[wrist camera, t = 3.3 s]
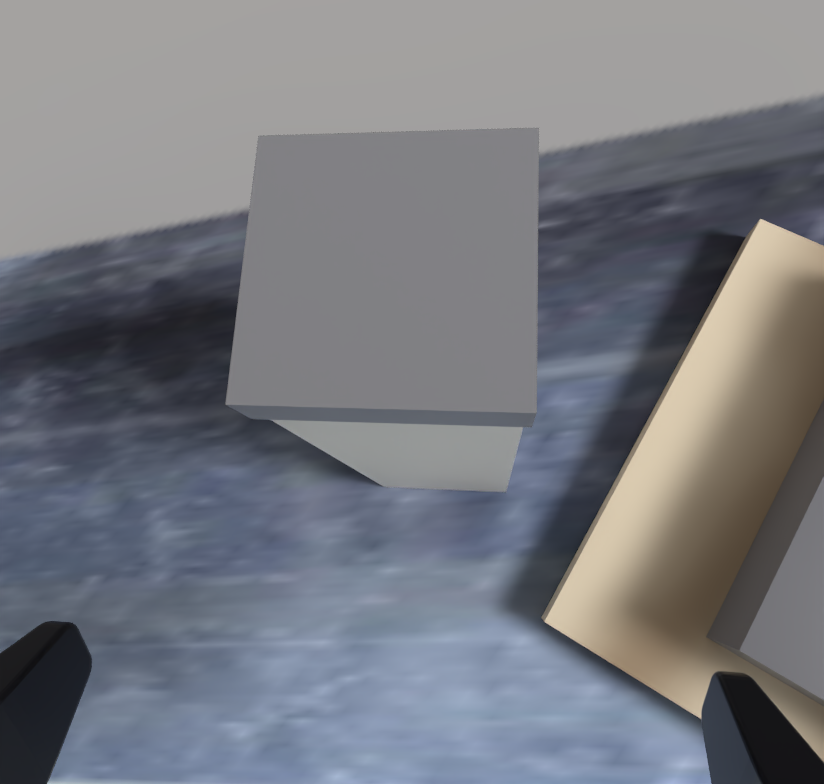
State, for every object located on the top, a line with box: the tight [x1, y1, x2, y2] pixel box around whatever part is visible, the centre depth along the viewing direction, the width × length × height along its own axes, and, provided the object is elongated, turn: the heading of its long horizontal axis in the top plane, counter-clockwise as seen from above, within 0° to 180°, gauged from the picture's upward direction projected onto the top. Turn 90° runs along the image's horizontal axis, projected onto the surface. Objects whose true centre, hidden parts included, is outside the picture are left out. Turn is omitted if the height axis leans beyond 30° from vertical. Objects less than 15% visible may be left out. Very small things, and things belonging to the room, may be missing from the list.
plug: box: [225, 128, 539, 492], centre depth 15 cm, size 4×5×13 cm
